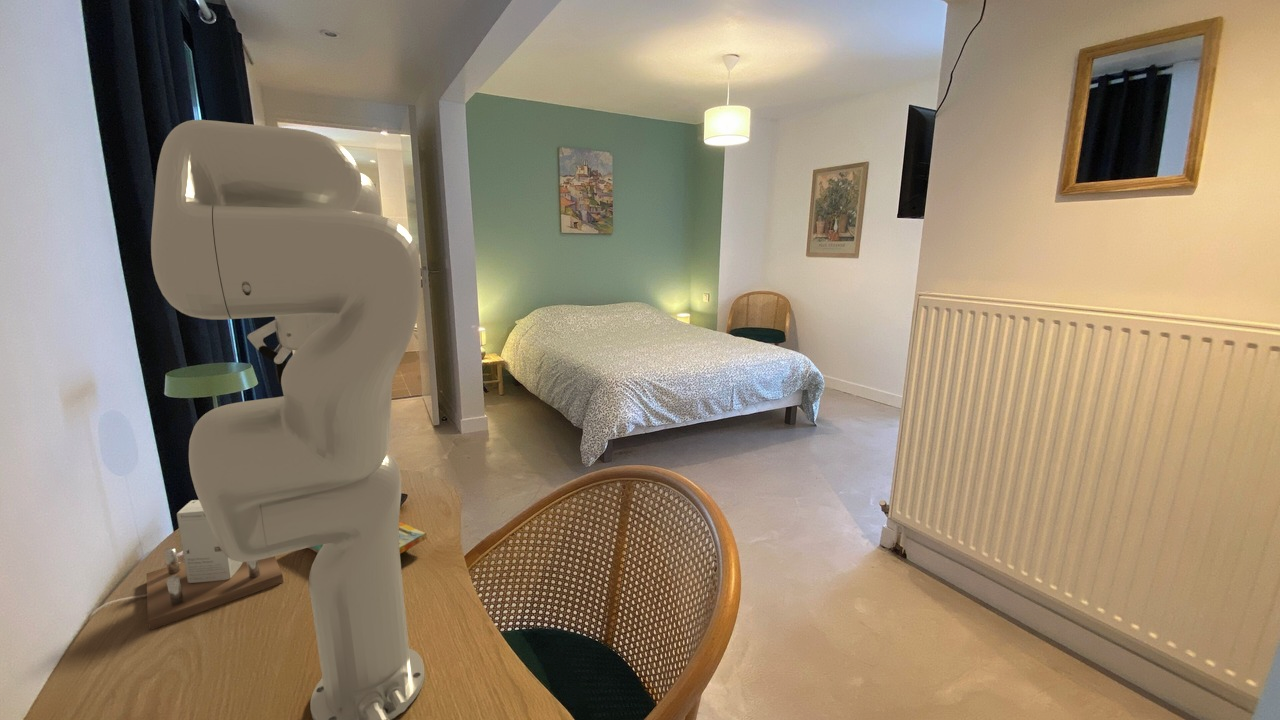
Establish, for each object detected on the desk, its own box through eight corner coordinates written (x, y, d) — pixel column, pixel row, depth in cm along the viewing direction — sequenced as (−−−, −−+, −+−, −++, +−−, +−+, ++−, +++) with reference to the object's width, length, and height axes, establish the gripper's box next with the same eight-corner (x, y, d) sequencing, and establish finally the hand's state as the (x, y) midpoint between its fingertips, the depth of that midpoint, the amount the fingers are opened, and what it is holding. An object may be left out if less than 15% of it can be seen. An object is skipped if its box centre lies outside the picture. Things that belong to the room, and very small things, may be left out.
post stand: (283, 582, 86) (278, 552, 85) (149, 629, 75) (142, 596, 74) (268, 544, 96) (263, 516, 95) (148, 581, 85) (141, 551, 84)
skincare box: (186, 584, 83) (172, 514, 80) (202, 567, 87) (189, 499, 84) (232, 579, 84) (219, 510, 81) (245, 562, 88) (234, 496, 85)
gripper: (241, 275, 71) (260, 398, 75) (379, 270, 82) (389, 377, 86) (234, 271, 76) (252, 386, 80) (364, 267, 88) (374, 368, 92)
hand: (323, 381), depth 83 cm, fingers open, 9 cm apart
